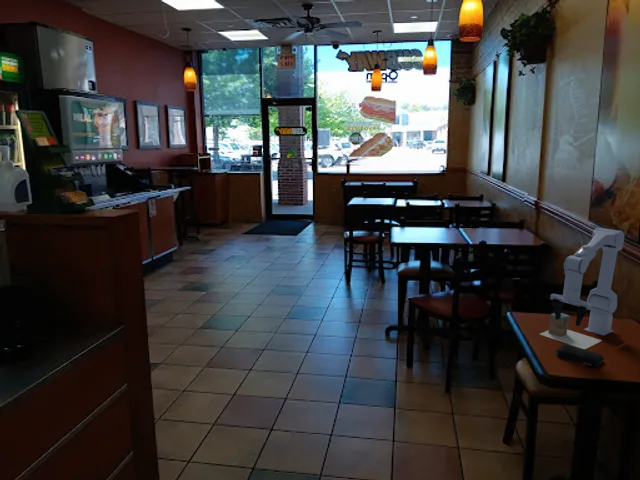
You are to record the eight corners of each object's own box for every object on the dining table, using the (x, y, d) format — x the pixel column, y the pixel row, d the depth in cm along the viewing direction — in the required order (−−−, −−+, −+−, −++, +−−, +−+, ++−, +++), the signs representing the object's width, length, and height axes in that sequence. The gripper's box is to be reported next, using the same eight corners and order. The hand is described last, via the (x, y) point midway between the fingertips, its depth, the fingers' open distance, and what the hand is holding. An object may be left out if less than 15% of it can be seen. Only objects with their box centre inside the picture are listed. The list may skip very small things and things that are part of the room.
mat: (557, 327, 214) (557, 326, 214) (601, 341, 201) (602, 340, 200) (539, 335, 205) (539, 334, 205) (584, 350, 191) (584, 349, 191)
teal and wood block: (554, 330, 210) (557, 311, 208) (566, 334, 206) (569, 315, 204) (548, 332, 207) (550, 314, 205) (560, 336, 203) (563, 317, 201)
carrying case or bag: (552, 357, 185) (596, 371, 176) (553, 350, 185) (597, 363, 175) (561, 349, 193) (604, 361, 184) (562, 341, 192) (605, 353, 183)
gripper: (548, 284, 193) (543, 318, 195) (587, 294, 182) (582, 330, 184) (557, 281, 197) (553, 314, 200) (596, 291, 186) (591, 326, 189)
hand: (567, 322), depth 192 cm, fingers open, 7 cm apart
